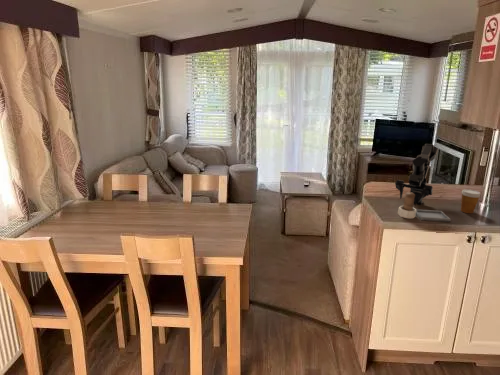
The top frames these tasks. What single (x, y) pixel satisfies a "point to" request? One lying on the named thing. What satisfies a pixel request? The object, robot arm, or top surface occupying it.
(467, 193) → the disposable coffee cup
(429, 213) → the tray
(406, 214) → the white nut
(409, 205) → the dowel peg
